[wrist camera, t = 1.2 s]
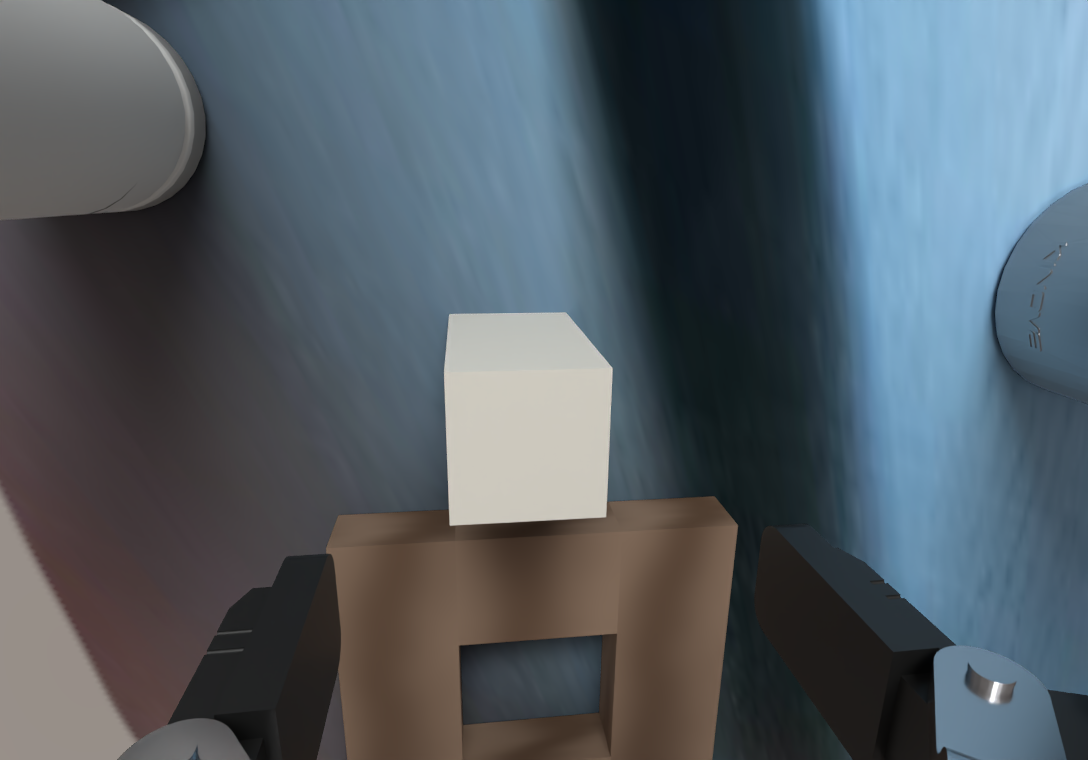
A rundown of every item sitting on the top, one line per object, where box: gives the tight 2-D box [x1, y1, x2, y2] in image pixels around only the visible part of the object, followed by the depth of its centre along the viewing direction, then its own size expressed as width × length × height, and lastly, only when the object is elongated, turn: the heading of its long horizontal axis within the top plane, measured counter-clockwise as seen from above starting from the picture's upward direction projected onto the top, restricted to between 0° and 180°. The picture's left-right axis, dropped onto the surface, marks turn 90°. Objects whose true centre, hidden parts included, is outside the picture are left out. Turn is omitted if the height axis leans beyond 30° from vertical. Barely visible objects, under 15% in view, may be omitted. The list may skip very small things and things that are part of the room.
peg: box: [444, 313, 613, 526], centre depth 21 cm, size 4×4×8 cm
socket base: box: [326, 496, 738, 760], centre depth 28 cm, size 16×16×2 cm
